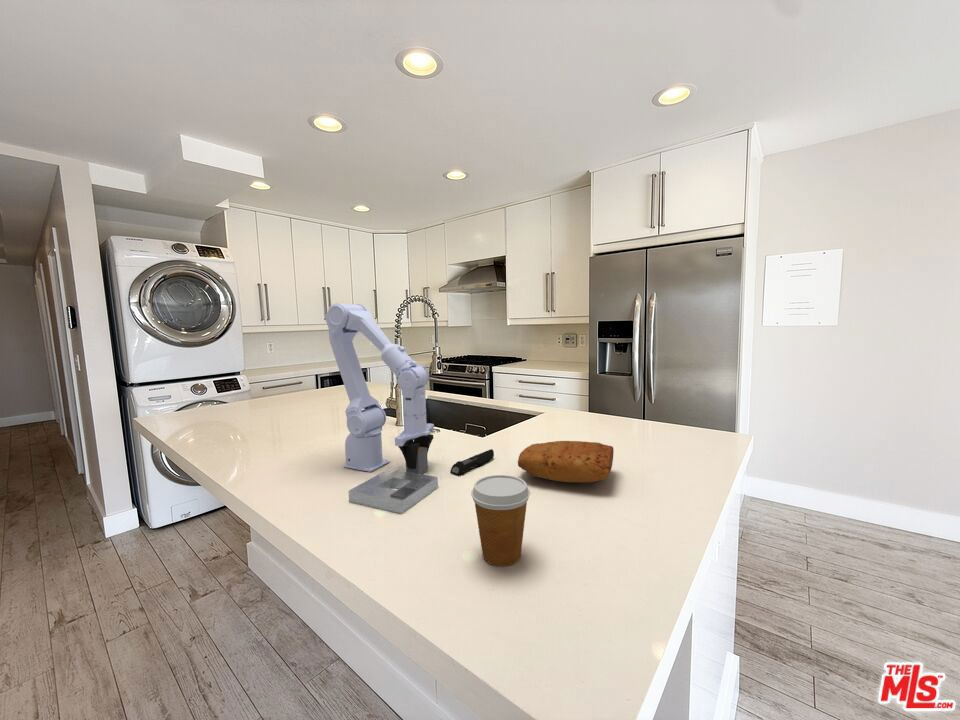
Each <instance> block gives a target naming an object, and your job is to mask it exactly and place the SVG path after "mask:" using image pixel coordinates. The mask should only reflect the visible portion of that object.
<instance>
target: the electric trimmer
mask: <svg viewBox="0 0 960 720" xmlns="http://www.w3.org/2000/svg"><path fill="white" fill-rule="evenodd" d="M494 457H495V453H494V449H493V448H490V449H487V450H485V451H483V452H480V453H478V454H475V455H473V456H470V457H469V458H466V459H464V460H458V461H456V462H455V463H453V465H452V466H451V468H450V470H449V473H450V475H453V476H457V477H459V475H460V477H461V475H462V476H463V474H464V473H465V472H467V471H469V470H472V469H473V468H475V467H480V466H483V465H485V464H486V463H488V462H489V461H491V460H492V459H493V458H494Z"/></svg>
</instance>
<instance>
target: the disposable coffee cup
mask: <svg viewBox="0 0 960 720" xmlns="http://www.w3.org/2000/svg"><path fill="white" fill-rule="evenodd" d="M530 495H531V492H530V490H529V489H528V484H527V482H526V481H525V480H524V479H522V478H520V477H519V476H515V475H509V474H491V475H486V476H484V477H481V478H478V480H476V481H475V483H474V485H473V488H472V490H471V495H470V496H471V498H472V500H473V502H474V507H475V512H476V519H477V525H478V534H479V539H480V547H481V552H482V554H481V555H482V557H483V560H484V561H485V562H486V563H488V564H490V565H493V566H496V567H507V566H512V565H514V564H516V563H518V561H519V560H520V559H521V556H522V549H523V548H522V547H523V540H524V539H523V537H524V530H525V529H524V528H525V521H526V512H527V505H528V503H527V502H528V501H529V499H530Z"/></svg>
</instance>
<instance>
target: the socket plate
mask: <svg viewBox="0 0 960 720" xmlns="http://www.w3.org/2000/svg"><path fill="white" fill-rule="evenodd" d="M437 487H438V488H439V477H438V476H434V475H429V474H424V473H422V474H418V473H412V472H406V470H400V469H397V468H391V467H389V468H387V469H385V470H384V471H382V472H380V473H378V474H376V475H375V476H373V477H371V478H369V479H367V480H366V481H364V482H362V483H359V484H358V485H356V486H355V487H353V488H351V489H349V490H348V502H349V503H353V504H357V505H361V506H366V507H370V508H375V509H380V510H384V511H388V512H392V513H396V514H401V515H402V514H404V513H405V512H406V511H408V510H409V509H410V508H412V507H413V506H414V505H416V504H418V503H419V502H420V501H421V500H423V499H424V498H426V497H427V496H429V495H430V494H431V493H432V492H433V491H435V490H437V489H438V488H437ZM429 493H430V494H429ZM418 501H419V502H418Z"/></svg>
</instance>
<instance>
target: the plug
mask: <svg viewBox="0 0 960 720" xmlns="http://www.w3.org/2000/svg"><path fill="white" fill-rule="evenodd" d="M428 461H429V460H428V454H427V447H420V446H419V448H418V451H417V461H416V468H415V469H409V468H407V464H406V463H405V471H406V472H412V473H418V474H424V473H425V472H427V471H428V469H429V466H428Z"/></svg>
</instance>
